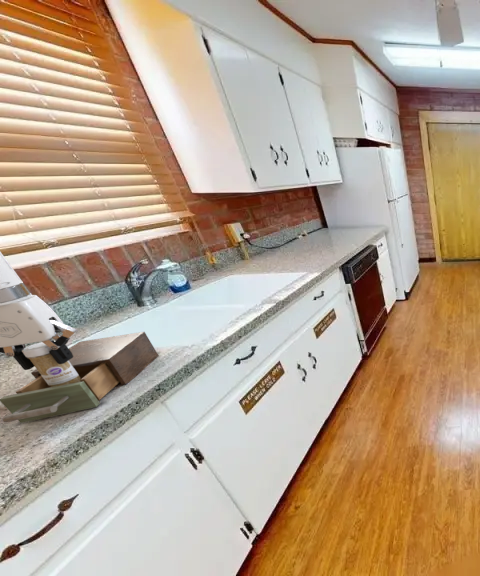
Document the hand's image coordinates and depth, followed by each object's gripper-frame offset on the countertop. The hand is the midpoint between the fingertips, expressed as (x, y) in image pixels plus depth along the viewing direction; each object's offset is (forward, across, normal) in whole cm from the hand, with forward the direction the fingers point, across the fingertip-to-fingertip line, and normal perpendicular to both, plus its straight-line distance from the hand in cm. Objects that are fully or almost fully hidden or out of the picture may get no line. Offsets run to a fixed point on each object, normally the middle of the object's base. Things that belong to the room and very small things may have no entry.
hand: (49, 362), depth 70 cm
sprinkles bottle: (+9, 0, 0) cm, 9 cm away
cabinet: (+13, 0, +11) cm, 17 cm away
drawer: (+12, 0, -1) cm, 12 cm away
